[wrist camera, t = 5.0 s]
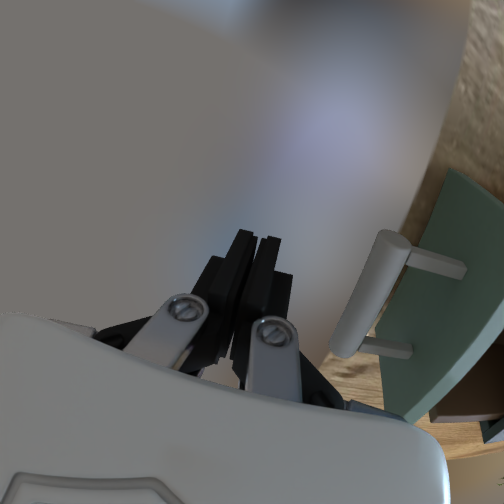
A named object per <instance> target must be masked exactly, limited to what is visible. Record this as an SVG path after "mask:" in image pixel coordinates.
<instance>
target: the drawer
mask: <svg viewBox="0 0 504 504" xmlns="http://www.w3.org/2000/svg"><path fill="white" fill-rule="evenodd" d="M404 264H406V265H408V268H407V270H406V272H405V274H404V276H403V278H402V280H401V282H400V284H399V286H398V288H397V289H396V291H395V293H394V295H393V297H392V299H391V301H390V302H389V304H388V306H387V308H386V310H385V311H384V313H383V315H382V317H381V318H380V320H379V322H378V324H377V325H376V327H375V333H376V338H374V337H369V336H366V334H367V333H368V331H369V329H370V328H371V326H372V324H373V323H374V321H375V319H376V317H377V316H378V314H379V312H380V310H381V308H382V307H383V305H384V303H385V301H386V299H387V297H388V295H389V294H390V292H391V290H392V288H393V286H394V284H395V282H396V280H397V278H398V276H399V274H400V272H401V270H402V268H403V266H404ZM329 348H330V350H331V351H332V353H333V354H335V355H336V356H338V357H341V358H349V357H351V356H353V355H354V354H355V352H356V351H357V349H358V352H364V353H369V354H375V355H379V362H380V370H381V378H382V388H383V399H384V411H388V412H391V413H394V414H397V415H399V416H401V417H403V418H404V419H405V420H406V421H407V422H408V423H409V424H411V425H413V424H414V423H415V422H416V421H418V420H419V419H420V418H421V417H422V416H423V415H425V414H426V413H427V412H428V411H429V417H430V422H431V423H455V422H474V421H487V420H497V419H502V418H503V417H504V204H503V203H502V202H501V201H499V200H498V199H497V198H496V197H494V196H493V195H492V194H491V193H489V192H488V191H487V190H486V189H484V188H483V187H482V186H480V185H479V184H478V183H476V182H475V181H473V180H472V179H471V178H469V177H468V176H467V175H465V174H463V173H461V172H459V171H456V170H454V169H452V168H449V169H448V172H447V175H446V178H445V181H444V183H443V186H442V189H441V192H440V194H439V197H438V200H437V202H436V205H435V207H434V210H433V212H432V215H431V217H430V220H429V222H428V224H427V227H426V229H425V231H424V234H423V236H422V238H421V240H420V243H419V245H418V247H415V246H412V245H411V243H410V242H409V240H407V239H406V238H405V237H404V236H402V235H401V234H399V233H396V232H393V231H391V230H381V231H380V232H378V235H377V237H376V240H375V242H374V245H373V247H372V250H371V253H370V254H369V257H368V259H367V262H366V264H365V266H364V269H363V271H362V273H361V275H360V278H359V280H358V282H357V284H356V287H355V289H354V291H353V293H352V295H351V298H350V300H349V302H348V304H347V306H346V308H345V310H344V312H343V315H342V316H341V318H340V320H339V322H338V324H337V327H336V328H335V331H334V333H333V334H332V336H331V338H330V340H329Z"/></svg>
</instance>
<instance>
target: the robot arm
mask: <svg viewBox="0 0 504 504" xmlns="http://www.w3.org/2000/svg"><path fill="white" fill-rule="evenodd" d="M257 239H258V237H257V236H253V232H251V231H247V230H242V229H239V231H238V233H237V235H236V237H235V239H234V241H233V243H232V245H231V247H230V249H229V251H228V253H227V255H226V257H225V258H221V257H218V256H212V257H211V258H210V260H209V262H208V264H207V265H206V267H205V269H204V270H203V272H202V274H201V276H200V277H199V279H198V281H197V283H196V285H195V286H194V288H193V290H192V292H191V293H190V294H185V293H184V294H177V295H175V296H172V297H171V298H169V299H168V300H167V301H166V302H165V303H164V304H163V305H162V306H161V307H160V309H159V310H158V311H157V312H156V313H155V314H154V315H153V316H149V317H146V318H142V319H139V320H135V321H131V322H128V323H124V324H120V325H116V326H113V327H109V328H106V329H103V330H101V331H100V332H97V331H96V329H95V328H92V327H87V326H82V325H77V324H72V323H68V322H63V321H59V320H54V319H45V318H42V317H39V316H35V315H31V314H25V313H16V312H12V313H3V314H0V504H451V503H450V484H449V475H448V470H447V464H446V459H445V456H444V453H443V450H442V448H441V446H440V444H439V443H438V441H437V440H436V439H435V438H434V437H433V436H431V435H430V434H429V433H427V432H425V431H424V430H422V429H420V428H418V427H416V426H413V425H411V424H409V423H408V422H407V421H406V420H405V419H404V418H403V417H401V416H399V415H397V414H394V413H391V412H388V411H384V410H381V409H378V408H375V407H372V406H369V405H366V404H363V403H361V402H358V401H355V400H352V399H351V400H350V401H349V402H348V401H346V400H343V398H342V396H341V395H340V394H339V392H338V391H337V390H336V389H335V388H334V387H333V386H332V385H331V384H330V383H329V382H328V381H327V380H326V378H325V377H324V376H323V375H322V374H321V373H320V372H319V371H318V370H317V369H316V368H315V367H314V366H313V365H312V364H311V362H309V360H308V359H307V358H306V357H305V356H304V355H303V354H302V353H301V352H300V351H299V343H298V334H297V330H296V328H295V327H294V326H293V325H292V324H291V323H290V322H289V321H288V320H286V319H287V312H288V306H289V299H290V293H291V286H292V279H293V275H291V274H287V273H283V272H278V271H274V268H275V264H276V260H277V255H278V251H279V247H280V243H281V239H280V238H276V237H272V236H268V237H267V239H265V238H262V239H261V242H260V245H259V247H258V250H257V253H256V256H255V259H254V255H255V250H256V244H257ZM253 260H254V262H253ZM233 333H234V337H233V342H232V347H231V353H230V360H233V366H232V369H233V371H234V372H235V374H236V375H237V376H238V378H239V383H238V389H236V388H232V387H229V386H225V385H221V384H218V383H214V382H211V381H207V380H204V379H201V378H200V377H201V376H202V374H203V372H204V368H205V367H207V366H210V365H212V364H218V361H219V358H220V357H223V358H225V357H226V354H227V351H228V348H229V345H230V342H231V339H232V336H233Z"/></svg>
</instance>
